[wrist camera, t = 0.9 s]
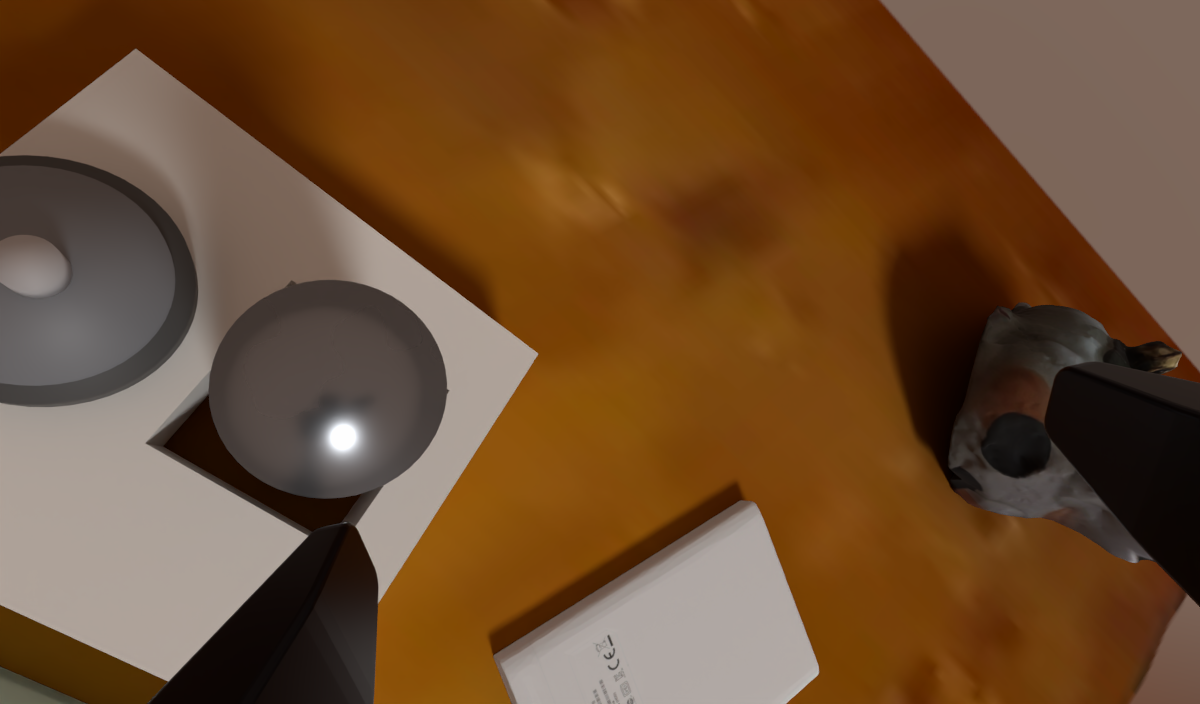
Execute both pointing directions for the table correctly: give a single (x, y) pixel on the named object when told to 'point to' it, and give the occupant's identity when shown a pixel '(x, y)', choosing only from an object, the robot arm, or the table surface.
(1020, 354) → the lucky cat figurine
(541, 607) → the table surface
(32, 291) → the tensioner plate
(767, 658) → the external hard drive
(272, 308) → the pin
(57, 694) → the tray
